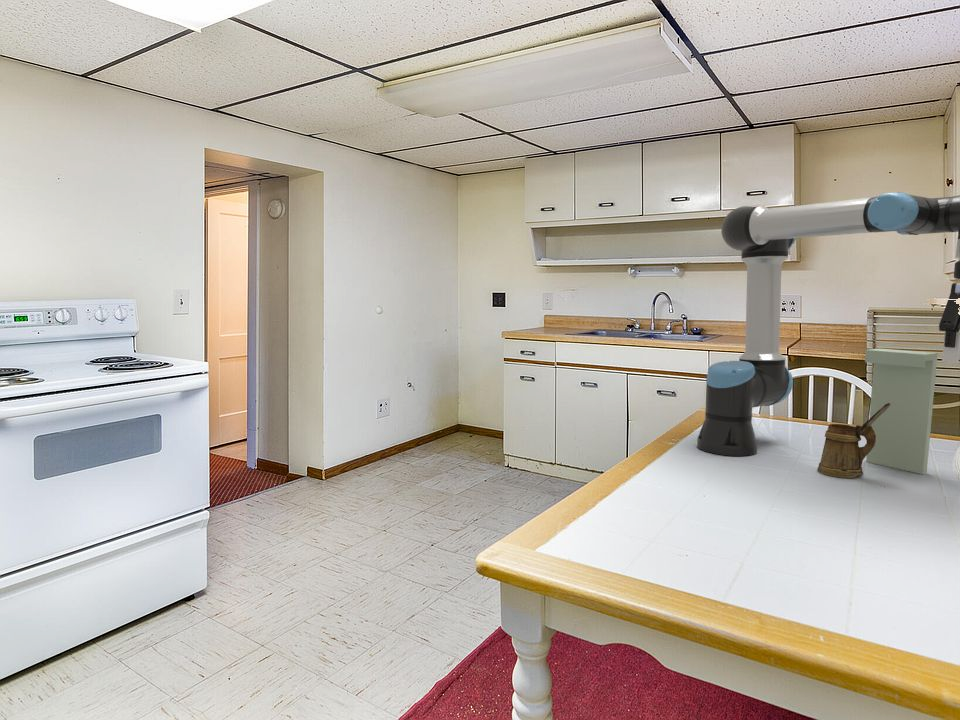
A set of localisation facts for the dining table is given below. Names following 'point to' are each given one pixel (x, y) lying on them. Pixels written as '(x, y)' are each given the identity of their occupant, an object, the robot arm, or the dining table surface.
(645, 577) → the dining table surface
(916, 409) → the sage green upright panel
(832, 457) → the wooden mug
